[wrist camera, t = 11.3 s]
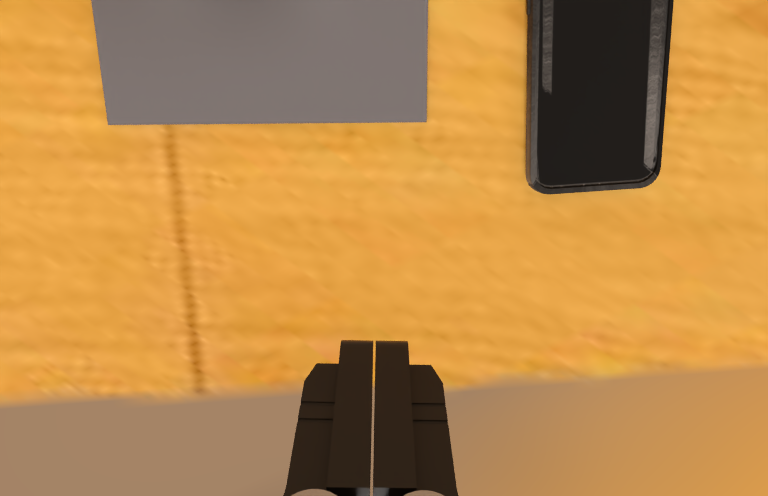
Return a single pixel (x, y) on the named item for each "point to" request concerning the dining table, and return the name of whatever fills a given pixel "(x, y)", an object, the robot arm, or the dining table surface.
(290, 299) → the dining table surface
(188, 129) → the dining table surface
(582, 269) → the dining table surface
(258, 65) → the mat
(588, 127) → the phone
